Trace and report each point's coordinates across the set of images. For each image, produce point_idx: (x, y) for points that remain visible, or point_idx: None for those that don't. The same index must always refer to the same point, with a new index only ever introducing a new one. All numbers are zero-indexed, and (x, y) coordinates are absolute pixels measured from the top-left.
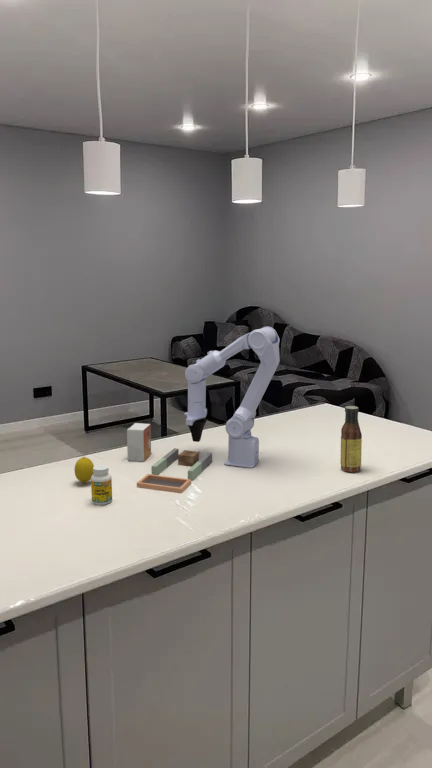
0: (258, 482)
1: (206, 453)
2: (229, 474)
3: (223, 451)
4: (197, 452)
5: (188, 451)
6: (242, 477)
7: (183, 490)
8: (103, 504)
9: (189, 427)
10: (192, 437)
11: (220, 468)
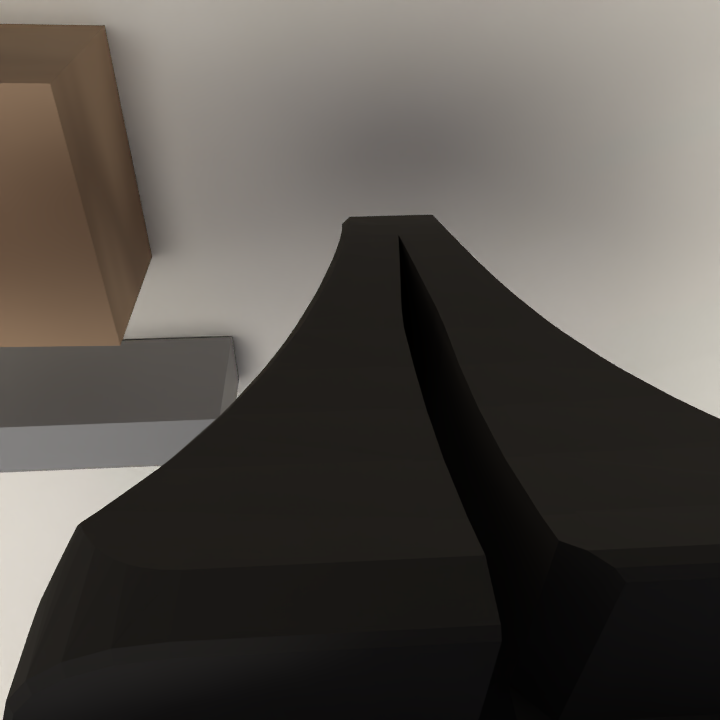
0: (4, 693)
1: (153, 424)
2: (6, 567)
3: (628, 372)
4: (79, 338)
5: (26, 194)
6: (16, 630)
7: None
8: None
9: (206, 442)
10: (337, 259)
11: (93, 488)
